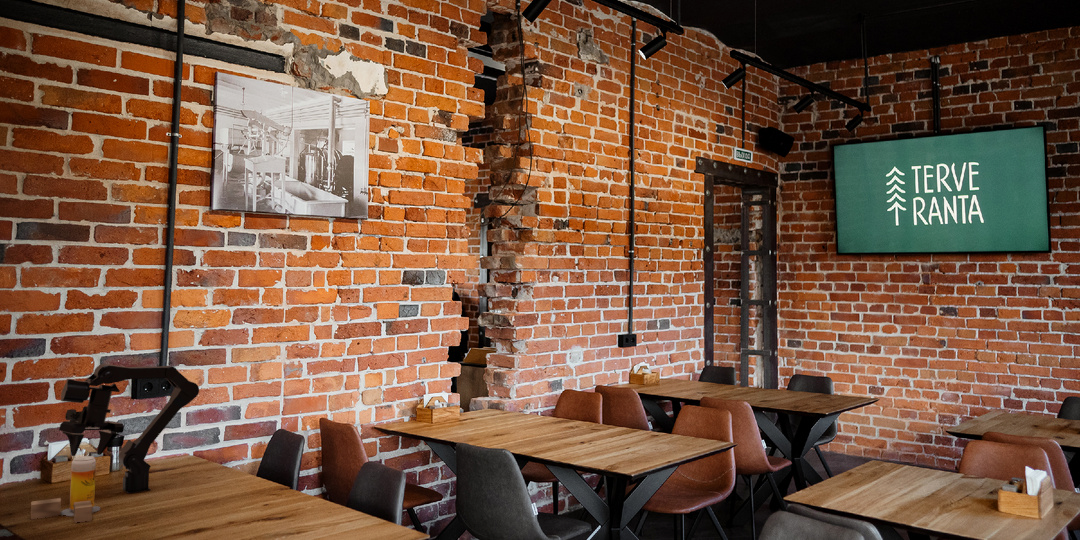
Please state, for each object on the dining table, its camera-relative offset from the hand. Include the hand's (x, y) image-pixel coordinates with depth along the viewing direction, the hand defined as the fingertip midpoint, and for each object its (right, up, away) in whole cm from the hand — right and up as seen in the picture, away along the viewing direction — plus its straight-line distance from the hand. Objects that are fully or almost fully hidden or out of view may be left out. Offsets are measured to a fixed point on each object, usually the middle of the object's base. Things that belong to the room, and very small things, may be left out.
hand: (86, 455), depth 235 cm
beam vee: (+6, -13, -16) cm, 21 cm away
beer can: (+7, -13, -13) cm, 19 cm away
